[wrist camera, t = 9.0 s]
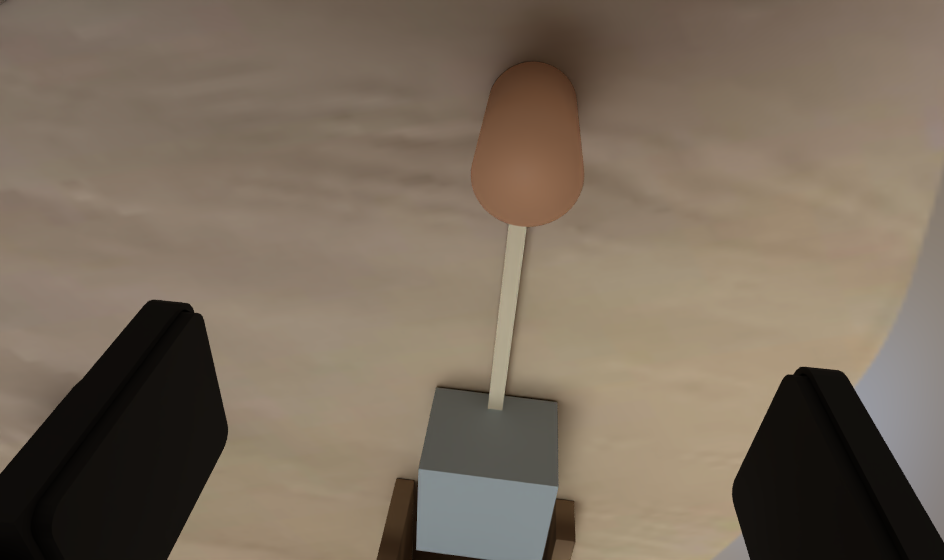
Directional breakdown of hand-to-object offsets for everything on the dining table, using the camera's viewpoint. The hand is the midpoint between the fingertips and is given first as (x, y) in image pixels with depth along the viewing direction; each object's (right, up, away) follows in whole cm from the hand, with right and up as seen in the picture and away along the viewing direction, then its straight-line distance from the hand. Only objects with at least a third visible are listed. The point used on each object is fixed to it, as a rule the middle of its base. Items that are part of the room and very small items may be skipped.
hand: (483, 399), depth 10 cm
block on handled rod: (+1, 0, +18) cm, 18 cm away
